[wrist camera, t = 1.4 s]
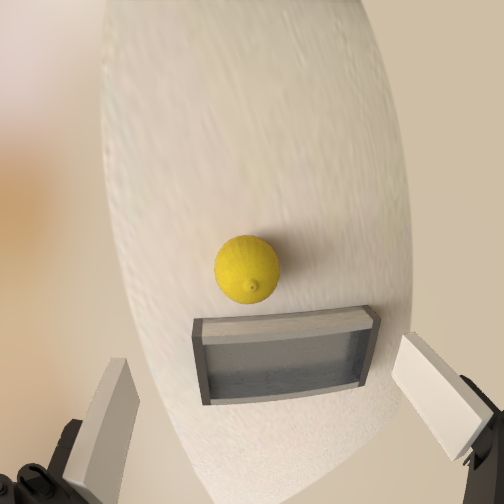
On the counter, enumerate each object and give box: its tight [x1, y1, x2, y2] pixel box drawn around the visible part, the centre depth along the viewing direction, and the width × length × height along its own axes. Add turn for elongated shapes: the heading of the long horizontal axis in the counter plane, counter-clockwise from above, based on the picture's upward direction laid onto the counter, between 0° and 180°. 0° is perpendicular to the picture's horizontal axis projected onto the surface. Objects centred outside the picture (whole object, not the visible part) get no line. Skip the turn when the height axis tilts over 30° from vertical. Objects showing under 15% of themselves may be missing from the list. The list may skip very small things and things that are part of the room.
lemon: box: [214, 235, 280, 304], centre depth 25 cm, size 6×6×8 cm
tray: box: [192, 305, 381, 405], centre depth 31 cm, size 10×20×4 cm, turn 91°
